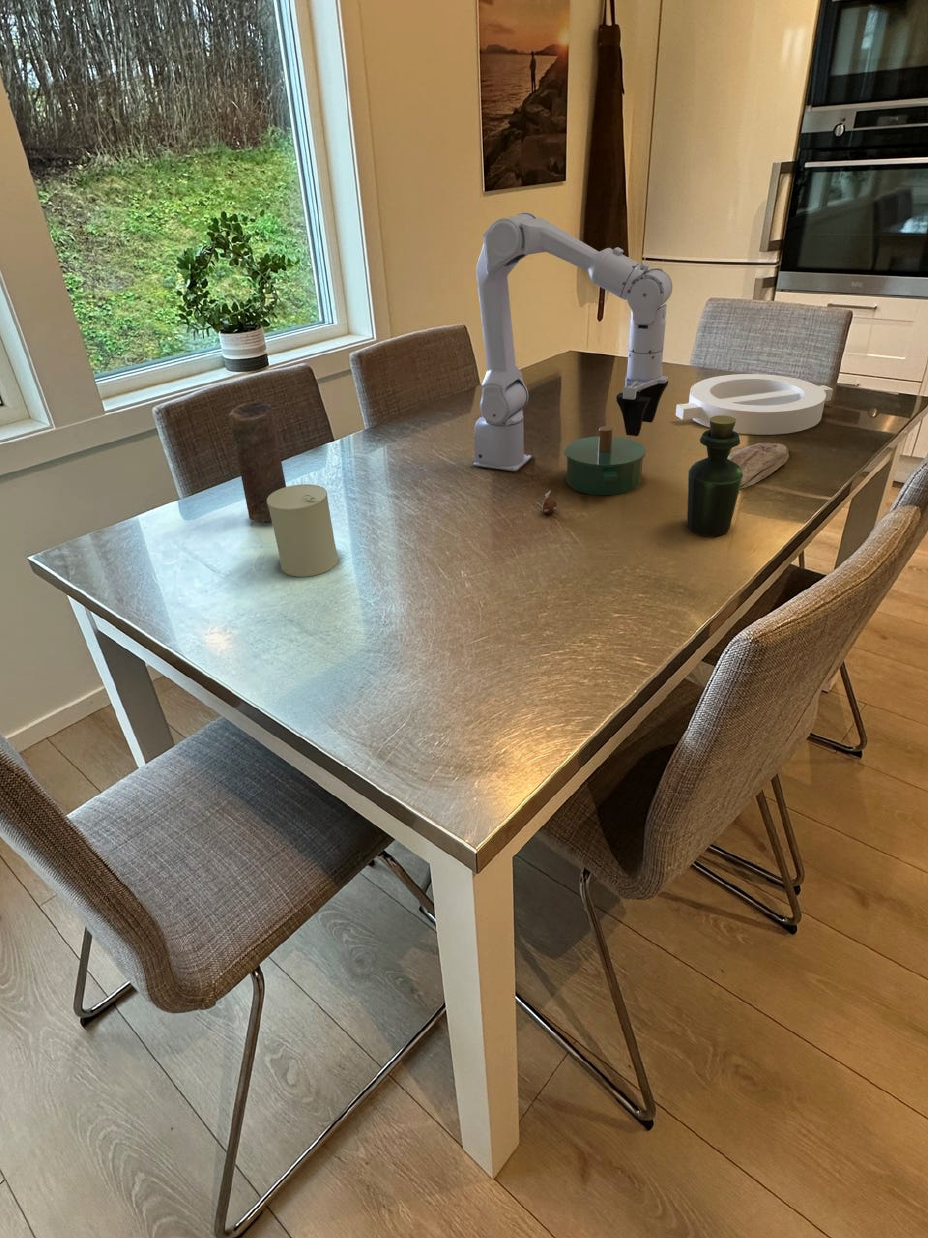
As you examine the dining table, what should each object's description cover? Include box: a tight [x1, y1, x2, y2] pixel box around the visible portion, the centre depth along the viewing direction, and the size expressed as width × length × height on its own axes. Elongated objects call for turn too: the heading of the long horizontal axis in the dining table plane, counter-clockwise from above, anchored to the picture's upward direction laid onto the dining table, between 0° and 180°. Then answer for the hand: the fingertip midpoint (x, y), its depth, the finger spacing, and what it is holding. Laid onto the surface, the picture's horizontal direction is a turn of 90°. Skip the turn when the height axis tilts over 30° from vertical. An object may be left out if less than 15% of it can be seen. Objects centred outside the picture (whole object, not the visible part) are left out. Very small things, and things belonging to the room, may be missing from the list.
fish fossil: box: [727, 442, 790, 490], centre depth 140 cm, size 26×10×1 cm, turn 143°
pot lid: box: [564, 425, 647, 467], centre depth 135 cm, size 15×15×5 cm
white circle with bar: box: [675, 373, 834, 436], centre depth 164 cm, size 28×28×5 cm
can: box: [267, 483, 340, 578], centre depth 115 cm, size 9×9×12 cm
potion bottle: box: [686, 416, 743, 537], centre depth 116 cm, size 8×8×18 cm
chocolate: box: [541, 489, 557, 515], centre depth 127 cm, size 3×2×4 cm
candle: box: [228, 401, 287, 524], centre depth 128 cm, size 8×7×20 cm
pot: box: [566, 457, 644, 496], centre depth 138 cm, size 14×19×6 cm
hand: (639, 428), depth 132 cm, fingers open, 7 cm apart
